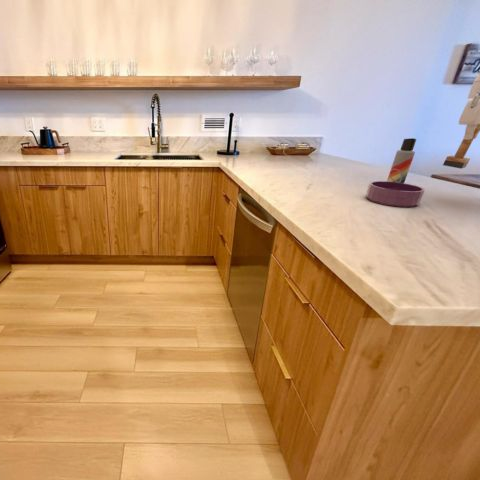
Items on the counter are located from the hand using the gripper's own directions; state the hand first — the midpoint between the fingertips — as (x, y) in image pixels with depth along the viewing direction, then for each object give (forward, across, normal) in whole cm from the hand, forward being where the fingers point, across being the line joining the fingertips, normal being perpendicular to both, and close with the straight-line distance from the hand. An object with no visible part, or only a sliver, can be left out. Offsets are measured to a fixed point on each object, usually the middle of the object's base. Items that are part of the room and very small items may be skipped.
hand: (469, 139), depth 94 cm
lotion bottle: (+21, +6, +18) cm, 28 cm away
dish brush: (+9, 0, +1) cm, 9 cm away
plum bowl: (+21, -15, +10) cm, 28 cm away
